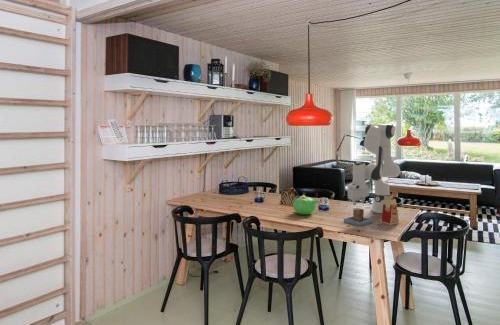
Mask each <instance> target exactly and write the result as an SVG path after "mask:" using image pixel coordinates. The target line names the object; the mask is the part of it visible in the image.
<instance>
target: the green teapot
mask: <svg viewBox="0 0 500 325" xmlns="http://www.w3.org/2000/svg"><path fill="white" fill-rule="evenodd" d="M318 203H320V199H313V198H311V197H309V196H306V195H305V194H302V195H301V196H300V197H297V198H296V199H294V200H293V203H292V208H293V210H294V211H295V213H297V214H299V215H310V214H312V213H313V212H314V211H315V210H316V204H318Z"/></svg>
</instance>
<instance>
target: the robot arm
mask: <svg viewBox="0 0 500 325" xmlns="http://www.w3.org/2000/svg"><path fill="white" fill-rule="evenodd" d="M395 132H396V128H395V126H394V124H391V123H374V124H372V123H371V124H367V126H365V129H364V134H365V137H364V141H363V147H364V149H365V150H366V151H368V152H370V153H372V154H374V155H375V163H373V162H372V163H368V164H367V165H366V163H365V162H364V161H356V162H354V163H353V164H352V182H350V183H349V184H348V185H347V200H351V202H352V205H353V206H356V205H357V202H356V200H357V199H361V200H360V203H361V204H364V203H365V200H366V197H369V195H370V188H369V184H368V183H366V180H372V181H373V186H374V194H373V198H374V199H373V200H372V205H371V208H370V210H371V211H372V212H373V213H377V214H382V210H383V203H384V198H385V197H384V196H393V194H390V189H391V188H390V184H389V182H387V181H385V180H383V179H382V178H388V179H389V178H398V177H399V175H400V174H401V169H400V168H401V167H400V166H399V165H398V164H396V162H395V161H394V160H393V158H392V151H391V150H392V149H391V148H392V143H391V140H392V139H391V138H393V137H394V136H395ZM397 211H398V212H399V209H398V208H397Z"/></svg>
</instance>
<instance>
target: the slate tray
mask: <svg viewBox="0 0 500 325" xmlns="http://www.w3.org/2000/svg"><path fill="white" fill-rule="evenodd" d="M343 223H347V224H350V225H355V226H358V225H359V226H358V227H363V226H366V225H369V224H373V218H367V217H364V216H363V221H362V222H358V221H353V216H350V217H345V218H343Z"/></svg>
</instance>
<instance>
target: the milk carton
mask: <svg viewBox="0 0 500 325" xmlns="http://www.w3.org/2000/svg"><path fill="white" fill-rule="evenodd" d="M384 197H385V198H384V203H383V210H382V213H381V223H382V224H386V225H389V226H392V225H396V224H397V225H398V224H400V221H399V210H398V211H397V209H398V205H397V200H396V198H395V197H394V195H393V194H392V196H384Z"/></svg>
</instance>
